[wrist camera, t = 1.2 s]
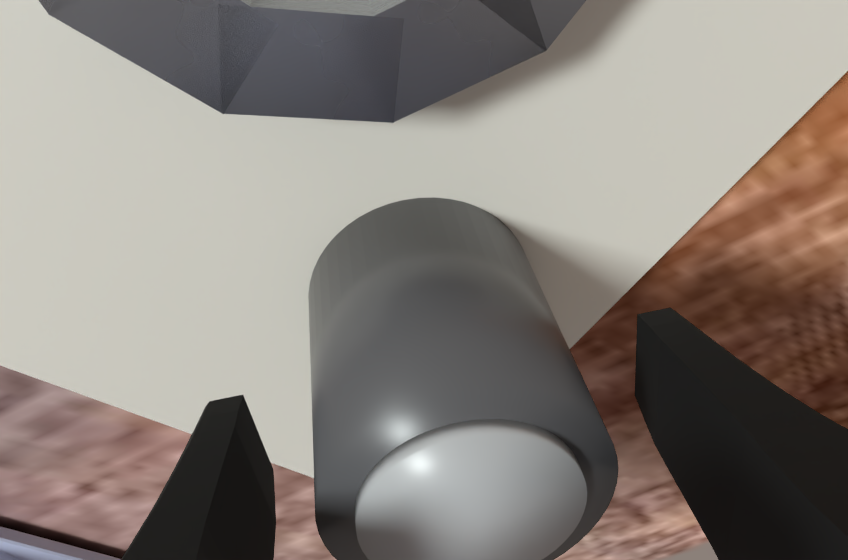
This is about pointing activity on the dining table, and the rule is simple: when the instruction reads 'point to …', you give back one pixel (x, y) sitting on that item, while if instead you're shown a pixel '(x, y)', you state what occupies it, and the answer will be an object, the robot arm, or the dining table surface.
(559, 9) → the grey faceted ring
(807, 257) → the dining table surface
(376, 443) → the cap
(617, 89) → the board
